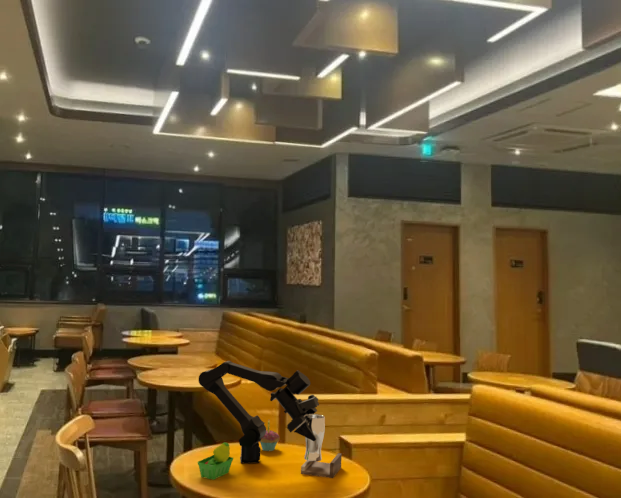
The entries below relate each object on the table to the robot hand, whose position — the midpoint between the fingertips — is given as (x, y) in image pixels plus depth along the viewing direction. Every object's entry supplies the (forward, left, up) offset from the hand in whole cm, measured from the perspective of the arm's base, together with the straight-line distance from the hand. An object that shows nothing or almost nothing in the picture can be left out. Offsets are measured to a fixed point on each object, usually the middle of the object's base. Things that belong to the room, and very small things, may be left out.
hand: (317, 437), depth 222 cm
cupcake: (-15, +25, -11) cm, 31 cm away
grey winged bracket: (+2, 0, -11) cm, 11 cm away
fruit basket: (-35, -4, -12) cm, 37 cm away
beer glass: (-1, +1, -8) cm, 8 cm away
